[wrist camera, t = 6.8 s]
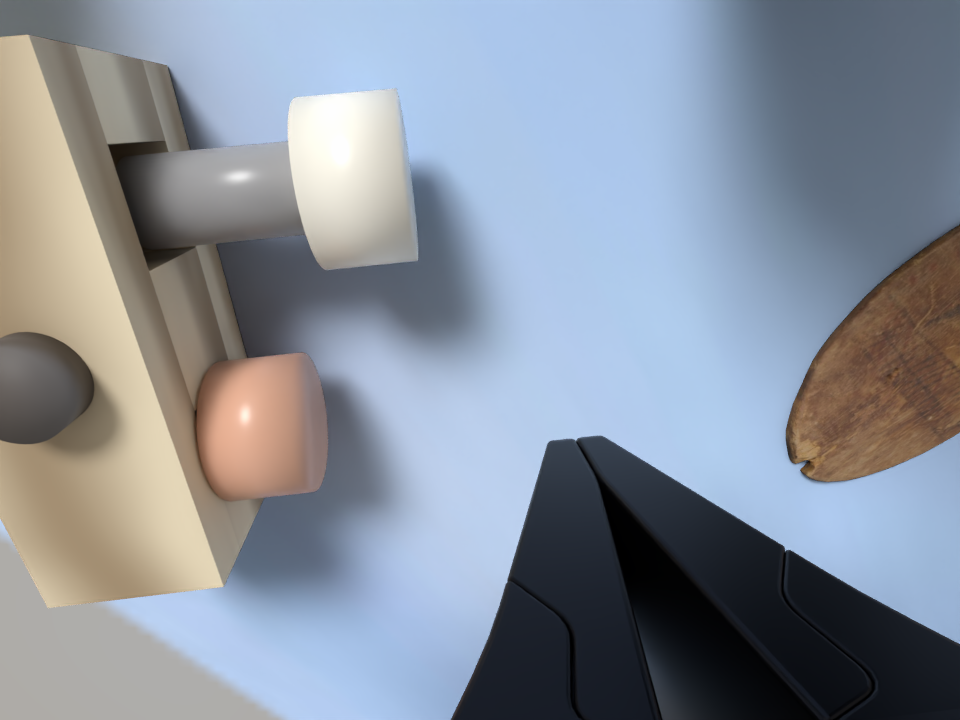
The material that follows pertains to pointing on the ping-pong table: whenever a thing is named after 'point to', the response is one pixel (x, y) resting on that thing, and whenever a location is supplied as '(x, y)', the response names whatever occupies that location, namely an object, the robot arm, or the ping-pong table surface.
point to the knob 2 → (263, 427)
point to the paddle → (885, 374)
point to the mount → (103, 340)
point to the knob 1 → (289, 186)
